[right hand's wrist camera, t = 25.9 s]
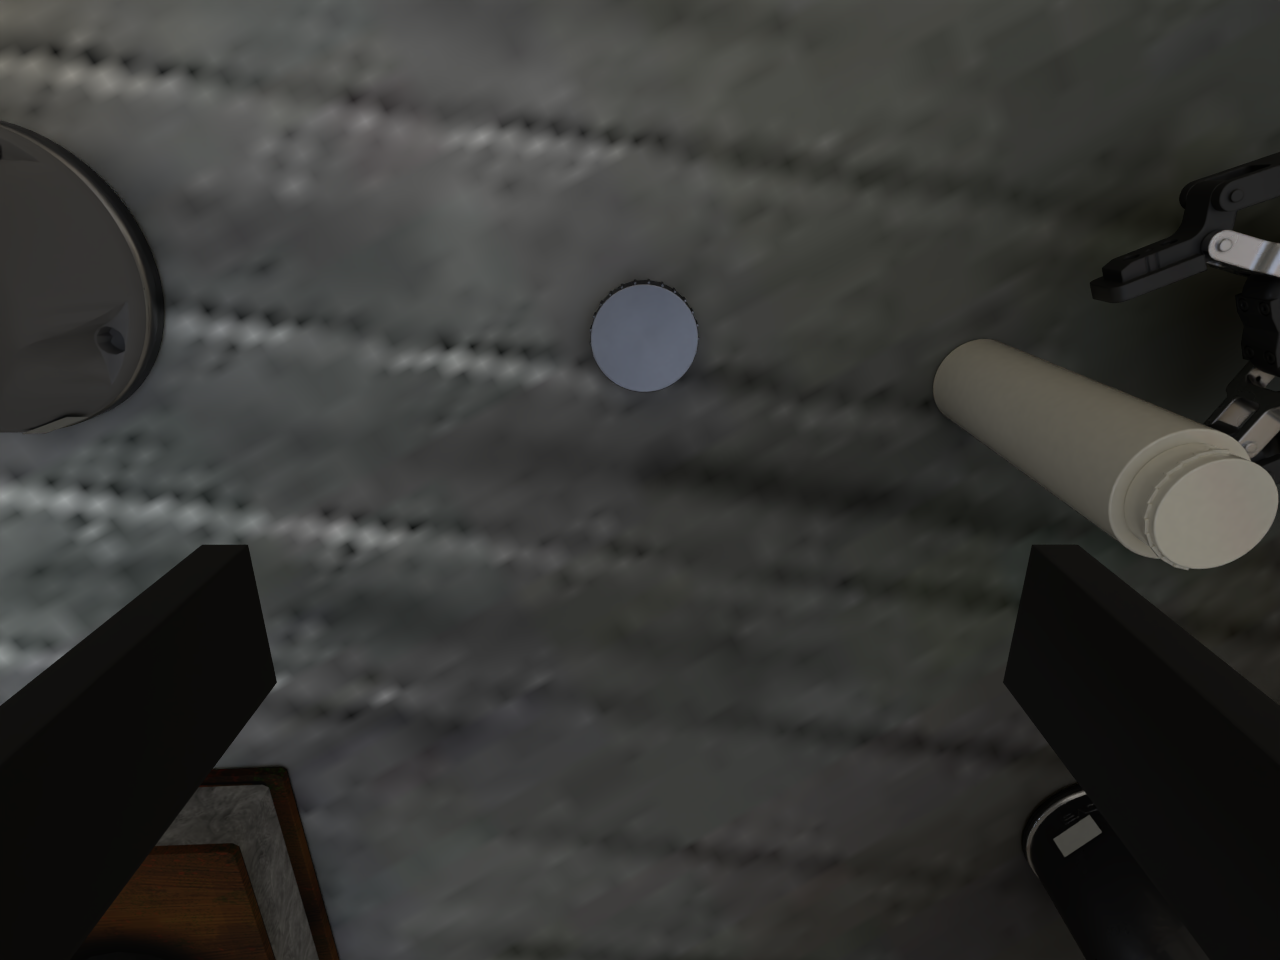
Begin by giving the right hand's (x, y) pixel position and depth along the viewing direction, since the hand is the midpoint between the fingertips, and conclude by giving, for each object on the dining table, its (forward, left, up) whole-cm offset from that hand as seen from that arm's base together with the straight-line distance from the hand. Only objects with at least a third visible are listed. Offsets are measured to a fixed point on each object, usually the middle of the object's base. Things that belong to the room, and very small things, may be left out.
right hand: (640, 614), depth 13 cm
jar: (+9, +16, -28) cm, 34 cm away
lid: (0, 0, -27) cm, 27 cm away
